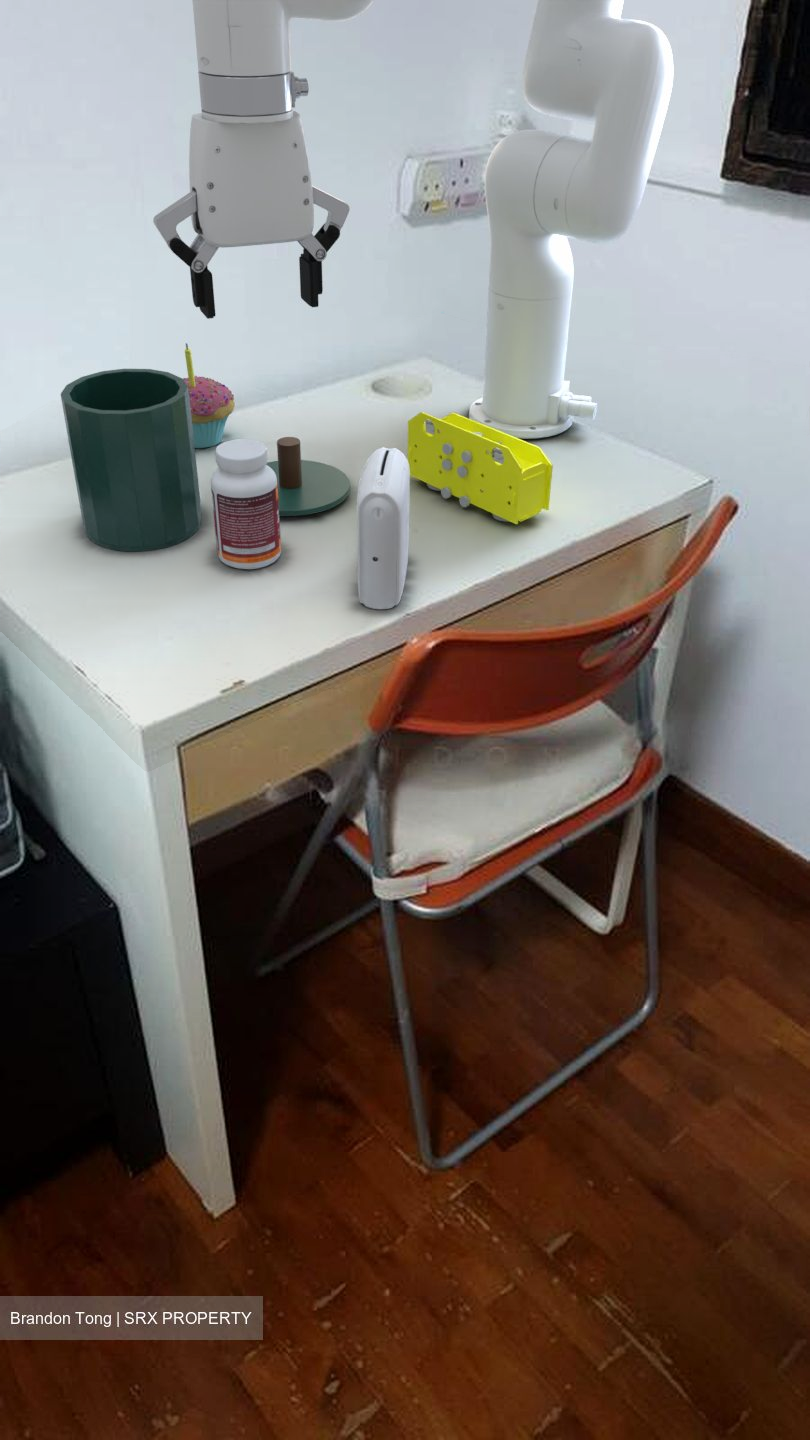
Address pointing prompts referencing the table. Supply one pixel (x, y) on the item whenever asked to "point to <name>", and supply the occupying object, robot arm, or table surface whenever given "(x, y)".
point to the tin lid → (306, 481)
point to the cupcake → (207, 406)
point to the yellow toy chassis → (479, 466)
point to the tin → (133, 458)
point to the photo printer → (383, 528)
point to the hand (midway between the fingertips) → (259, 308)
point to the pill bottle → (245, 505)
